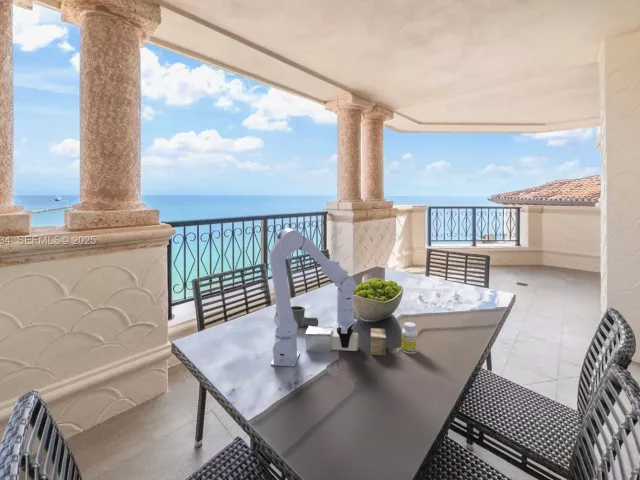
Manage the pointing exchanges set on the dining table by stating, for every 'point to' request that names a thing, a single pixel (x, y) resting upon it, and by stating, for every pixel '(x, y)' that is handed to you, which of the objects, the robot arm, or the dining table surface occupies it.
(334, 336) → the long white bar
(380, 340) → the socket
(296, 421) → the dining table surface
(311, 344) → the sleeve
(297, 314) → the pipe
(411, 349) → the supplement bottle
